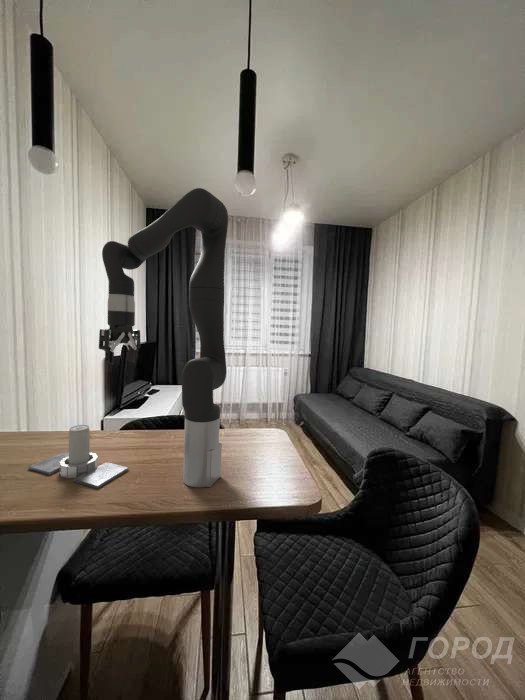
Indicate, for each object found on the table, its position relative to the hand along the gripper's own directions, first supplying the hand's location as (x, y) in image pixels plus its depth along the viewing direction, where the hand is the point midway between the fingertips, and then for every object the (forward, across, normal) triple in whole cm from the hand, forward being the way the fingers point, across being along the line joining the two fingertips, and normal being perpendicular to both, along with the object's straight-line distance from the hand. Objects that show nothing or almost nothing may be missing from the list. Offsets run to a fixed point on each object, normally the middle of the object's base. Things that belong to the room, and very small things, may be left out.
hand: (121, 362), depth 87 cm
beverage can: (+29, -13, +2) cm, 32 cm away
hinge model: (+29, -12, +2) cm, 32 cm away
